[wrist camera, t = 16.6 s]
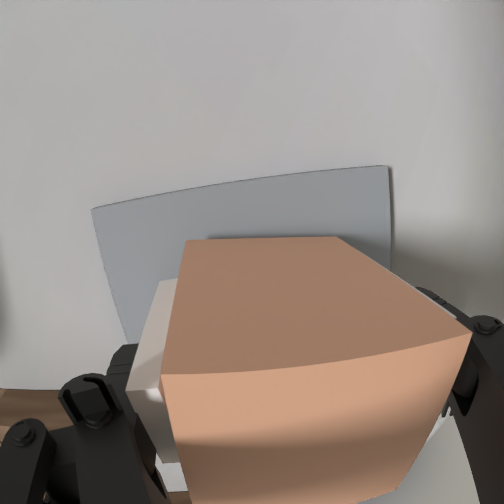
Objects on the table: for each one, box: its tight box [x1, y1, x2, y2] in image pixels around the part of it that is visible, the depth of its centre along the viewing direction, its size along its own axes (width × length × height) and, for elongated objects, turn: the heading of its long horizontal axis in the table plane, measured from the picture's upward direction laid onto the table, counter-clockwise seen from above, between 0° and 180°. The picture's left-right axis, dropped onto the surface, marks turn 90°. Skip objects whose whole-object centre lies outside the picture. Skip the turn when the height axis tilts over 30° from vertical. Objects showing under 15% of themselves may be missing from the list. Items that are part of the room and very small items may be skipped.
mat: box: [91, 165, 391, 344], centre depth 14 cm, size 9×13×1 cm
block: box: [161, 236, 473, 504], centre depth 10 cm, size 6×6×8 cm
